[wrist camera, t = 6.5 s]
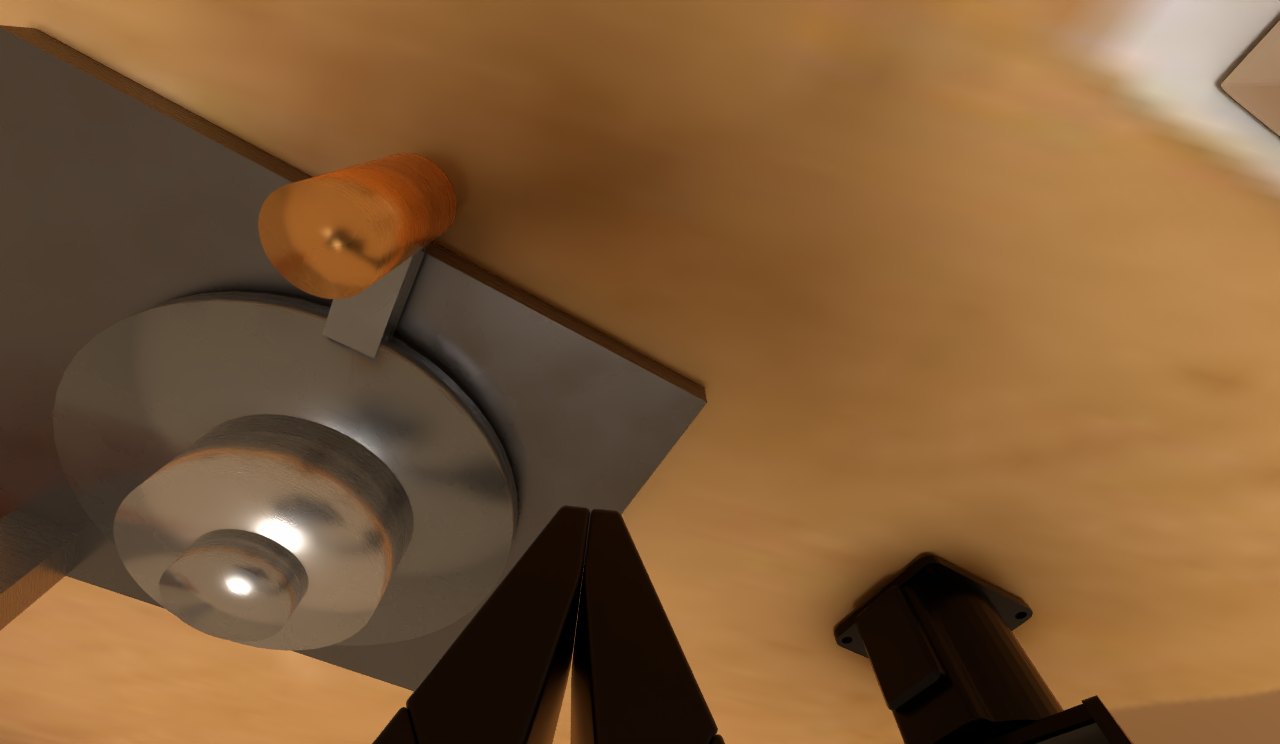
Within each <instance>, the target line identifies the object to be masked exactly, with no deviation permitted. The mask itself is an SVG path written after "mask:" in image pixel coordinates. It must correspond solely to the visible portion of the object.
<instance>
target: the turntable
mask: <svg viewBox="0 0 1280 744" xmlns="http://www.w3.org/2000/svg"><path fill="white" fill-rule="evenodd" d="M455 213H456V197H455V193H454V190H453V187H452V185H451V183H450V181H449V179H448V178H447V176H446V175H445V174H444V172H443V171H442V170H441V169H440V168H439V167H438V166H437V165H435V164H434V163H433V162H431V161H430V160H428V159H426V158H424V157H422V156H419V155H415V154H408V153H403V154H397V155H393V156H389V157H385V158H382V159H378V160H374V161H371V162H367V163H364V164H360V165H356V166H353V167H349V168H345V169H342V170H338V171H334V172H331V173H327V174H324V175H320V176H316V177H313V178H309V179H305V180H302V181H298V182H295V183H291V184H287V185H285V186H282V187H280V188H278V189H276V190H275V191H273V192H272V193H271V194H270V195H269V196H268V197H267V199H266V200H265V201H264V203H263V205H262V207H261V210H260V213H259V220H258V230H259V236H260V240H261V244H262V246H263V249H264V251H265V253H266V255H267V257H268V259H269V260H270V262H271V263H272V265H273V266H274V267H275V268H276V270H277V271H278V272H279V273H280V274H281V275H282V276H283V277H284V278H285V279H286V280H288V281H289V282H290V283H291V284H293V285H294V286H296V287H297V288H299V289H301V290H303V291H304V292H307V293H309V294H311V295H314V296H317V297H321V298H326V299H333V302H332V305H331V308H329V307H326V306H322V305H319V304H316V303H312V302H309V301H306V300H302V299H297V298H291V297H286V296H280V295H275V294H269V293H256V292H240V291H229V292H212V293H201V294H196V295H191V296H186V297H181V298H176V299H172V300H169V301H167V302H164V303H161V304H159V305H156V306H153V307H151V308H148V309H146V310H143V311H141V312H139V313H137V314H134V315H132V316H130V317H128V318H126V319H123V320H121V321H119V322H117V323H116V324H114V325H112V326H111V327H109V328H107V329H106V330H104V331H102V332H101V333H99V334H97V335H96V336H95V337H94V338H93V339H92V340H91V341H89V342H88V343H87V344H86V345H85V346H84V347H83V348H82V349H81V350H80V351H79V352H78V353H77V354H76V356H75V357H74V359H73V360H72V362H71V363H70V364H69V366H68V367H67V369H66V370H65V372H64V375H63V377H62V380H61V382H60V385H59V387H58V390H57V392H56V399H55V405H54V411H53V426H54V439H55V444H56V448H57V453H58V457H59V461H60V463H61V466H62V468H63V471H64V473H65V476H66V478H67V481H68V483H69V485H70V487H71V489H72V490H73V492H74V494H75V496H76V497H77V499H78V501H79V503H80V504H81V506H82V507H83V509H84V510H85V511H86V513H87V514H88V515H89V517H90V518H91V519H92V521H93V522H94V524H95V525H96V526H97V527H98V528H99V530H100V531H101V532H102V533H103V534H104V535H105V536H106V537H107V538H108V539H109V540H110V542H111V543H112V544H113V545H114V546H115V547H116V545H115V540H114V534H113V530H114V519H115V516H116V513H117V510H118V508H119V506H120V505H121V503H122V501H123V500H124V499H125V498H126V497H127V496H128V495H129V493H130V492H131V491H133V490H134V489H135V488H137V487H138V486H139V485H140V484H142V483H143V482H144V481H146V480H147V479H148V478H149V477H151V476H152V475H153V474H154V473H156V472H157V471H158V470H160V469H161V468H162V467H163V466H165V465H166V464H167V463H168V462H170V461H171V460H172V459H174V458H175V457H176V456H177V455H179V454H180V453H181V452H182V451H184V450H185V449H186V448H188V447H189V446H190V445H191V444H193V443H194V442H195V441H196V440H198V439H199V438H200V437H202V436H203V435H204V434H205V433H207V432H208V431H210V430H211V429H212V428H214V427H215V426H217V425H219V424H221V423H223V422H225V421H228V420H231V419H235V418H238V417H242V416H249V415H258V414H275V415H287V416H292V417H298V418H303V419H306V420H310V421H313V422H317V423H320V424H322V425H325V426H328V427H330V428H333V429H335V430H337V431H339V432H341V433H343V434H345V435H347V436H349V437H351V438H352V439H354V440H356V441H357V442H359V443H360V444H362V445H364V446H365V447H366V448H367V449H369V450H370V451H371V452H373V453H374V454H375V455H376V456H378V457H379V458H380V459H381V460H382V461H383V462H384V463H385V464H386V465H387V466H388V467H389V468H390V470H391V471H392V472H393V473H394V474H395V475H396V477H397V478H398V480H399V481H400V483H401V484H402V486H403V487H404V489H405V491H406V493H407V495H408V497H409V500H410V504H411V507H412V511H413V517H414V530H413V534H412V539H411V541H410V544H409V546H408V548H407V550H406V552H405V554H404V556H403V558H402V560H401V562H400V564H399V565H398V567H397V569H396V571H395V573H394V575H393V577H392V579H391V581H390V583H389V585H388V587H387V588H386V590H385V592H384V594H383V596H382V598H381V600H380V602H379V604H378V606H377V608H376V609H375V611H374V613H373V615H372V617H371V618H370V620H369V621H368V623H367V624H366V625H365V626H364V627H363V628H362V629H361V630H360V631H358V632H357V633H356V634H354V635H353V636H351V637H349V638H347V639H345V640H343V641H341V642H339V643H336V644H333V645H346V646H359V645H379V644H387V643H395V642H400V641H405V640H409V639H414V638H418V637H421V636H424V635H427V634H430V633H432V632H435V631H438V630H440V629H442V628H444V627H446V626H448V625H450V624H452V623H454V622H456V621H457V620H459V619H460V618H462V617H463V616H465V615H466V614H468V613H470V612H471V611H472V610H473V609H474V608H475V607H476V606H477V605H479V604H480V603H481V602H482V601H483V600H484V599H485V598H486V597H487V595H488V594H489V593H490V591H491V590H492V589H493V588H494V586H495V585H496V583H497V581H498V580H499V578H500V576H501V574H502V572H503V570H504V568H505V565H506V562H507V558H508V555H509V552H510V549H511V545H512V542H513V539H514V535H515V532H516V525H517V516H518V502H517V490H516V485H515V481H514V476H513V472H512V468H511V466H510V463H509V461H508V458H507V456H506V453H505V451H504V448H503V446H502V444H501V442H500V441H499V439H498V437H497V435H496V434H495V432H494V430H493V428H492V426H491V425H490V423H489V422H488V421H487V419H486V418H485V416H484V415H483V414H482V412H481V411H480V410H479V408H478V407H477V406H476V404H475V403H474V402H473V401H472V400H471V399H470V397H469V396H468V395H467V394H466V393H465V392H464V391H463V390H462V389H461V388H460V387H459V386H458V385H457V384H456V383H455V382H454V381H453V380H452V379H451V378H450V377H449V376H448V375H447V374H445V373H444V372H443V371H442V370H441V369H439V368H438V367H437V366H436V365H435V364H434V363H432V362H431V361H430V360H429V359H428V358H426V357H425V356H423V355H422V354H420V353H419V352H417V351H416V350H414V349H413V348H411V347H410V346H408V345H407V344H405V343H404V342H403V341H401V340H399V339H398V338H396V337H394V336H393V334H394V332H395V329H396V327H397V324H398V321H399V319H400V316H401V314H402V311H403V309H404V306H405V303H406V301H407V298H408V296H409V293H410V291H411V288H412V285H413V283H414V280H415V278H416V275H417V272H418V270H419V267H420V265H421V262H422V260H423V257H424V254H425V252H426V249H427V247H428V244H429V243H430V242H432V241H433V240H435V239H436V238H437V237H439V236H440V235H442V234H443V233H444V232H445V231H446V230H447V229H448V228H449V227H450V225H451V224H452V222H453V220H454V217H455Z"/></svg>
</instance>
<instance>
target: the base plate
mask: <svg viewBox="0 0 1280 744" xmlns="http://www.w3.org/2000/svg"><path fill="white" fill-rule="evenodd" d="M309 178H312V177H311V176H309V175H307V174H305V173H303V172H301V171H299V170H297V169H296V168H294V167H292V166H290V165H288V164H286V163H284V162H283V161H281V160H279V159H277V158H275V157H273V156H271V155H270V154H268V153H266V152H264V151H262V150H260V149H258V148H257V147H255V146H253V145H251V144H249V143H247V142H245V141H243V140H242V139H240V138H238V137H236V136H234V135H232V134H230V133H229V132H227V131H225V130H223V129H221V128H219V127H217V126H216V125H214V124H212V123H210V122H208V121H206V120H204V119H203V118H201V117H199V116H197V115H195V114H193V113H191V112H189V111H188V110H186V109H184V108H182V107H180V106H178V105H176V104H175V103H173V102H171V101H169V100H167V99H165V98H163V97H162V96H160V95H158V94H156V93H154V92H152V91H150V90H148V89H147V88H145V87H143V86H141V85H139V84H137V83H135V82H134V81H132V80H130V79H128V78H126V77H124V76H122V75H121V74H119V73H117V72H115V71H113V70H111V69H109V68H108V67H106V66H104V65H102V64H100V63H98V62H96V61H94V60H93V59H91V58H89V57H87V56H85V55H83V54H81V53H80V52H78V51H76V50H74V49H72V48H70V47H68V46H67V45H65V44H63V43H61V42H59V41H57V40H55V39H53V38H52V37H50V36H48V35H46V34H44V33H42V32H40V31H39V30H37V29H35V28H24V27H13V26H2V25H0V519H2V518H3V517H5V516H6V515H8V514H9V513H11V512H12V511H14V510H16V511H19V512H21V513H24V514H27V515H30V516H33V517H36V518H39V519H41V520H44V521H47V522H50V523H53V524H56V525H59V526H61V527H64V528H67V529H70V530H73V531H76V532H78V533H79V539H78V548H77V557H76V565H75V568H74V569H73V570H72V571H70V572H69V573H68V574H67V575H66V576H68V577H71V578H74V579H77V580H80V581H83V582H86V583H89V584H92V585H96V586H99V587H102V588H105V589H108V590H111V591H114V592H117V593H120V594H123V595H126V596H129V597H132V598H135V599H138V600H141V601H144V602H147V603H150V604H153V605H156V606H159V607H162V608H164V607H163V606H161V605H160V604H159V603H157V602H156V601H155V600H154V599H153V598H152V597H150V596H149V595H148V594H147V593H146V592H145V591H144V590H143V589H142V588H141V587H140V586H139V585H138V583H137V582H136V581H135V580H134V579H133V578H132V576H131V575H130V573H129V572H128V571H127V569H126V568H125V566H124V564H123V562H122V560H121V558H120V556H119V554H118V551H117V548H116V547H115V546H114V545H113V544H112V543H111V542H110V540H109V539H108V538H107V537H106V536H105V535H104V534H103V533H102V532H101V531H100V530H99V528H98V527H97V526H96V525H95V524H94V522H93V521H92V519H91V518H90V517H89V515H88V514H87V513H86V511H85V510H84V509H83V507H82V506H81V504H80V503H79V501H78V499H77V497H76V496H75V494H74V492H73V490H72V489H71V487H70V485H69V483H68V481H67V478H66V476H65V473H64V471H63V468H62V466H61V463H60V461H59V457H58V453H57V448H56V444H55V439H54V426H53V411H54V405H55V399H56V392H57V390H58V387H59V385H60V382H61V380H62V377H63V375H64V372H65V370H66V369H67V367H68V366H69V364H70V363H71V362H72V360H73V359H74V357H75V356H76V354H77V353H78V352H79V351H80V350H81V349H82V348H83V347H84V346H85V345H86V344H87V343H88V342H89V341H91V340H92V339H93V338H94V337H95V336H96V335H97V334H99V333H101V332H102V331H104V330H106V329H107V328H109V327H111V326H112V325H114V324H116V323H117V322H119V321H121V320H123V319H126V318H128V317H130V316H132V315H134V314H137V313H139V312H141V311H143V310H146V309H148V308H151V307H153V306H156V305H159V304H161V303H164V302H167V301H169V300H172V299H176V298H181V297H186V296H191V295H196V294H201V293H212V292H229V291H240V292H256V293H269V294H275V295H280V296H286V297H291V298H297V299H302V300H306V301H309V302H312V303H316V304H319V305H322V306H326V307H329V308H331V305H332V302H333V299H326V298H321V297H317V296H314V295H311V294H309V293H307V292H304V291H303V290H301V289H299V288H297V287H296V286H294V285H293V284H291V283H290V282H289V281H288V280H286V279H285V278H284V277H283V276H282V275H281V274H280V273H279V272H278V271H277V270H276V268H275V267H274V266H273V265H272V263H271V262H270V260H269V259H268V257H267V255H266V253H265V251H264V249H263V246H262V244H261V240H260V236H259V230H258V220H259V213H260V210H261V207H262V205H263V203H264V201H265V200H266V199H267V197H268V196H269V195H270V194H271V193H272V192H273V191H275V190H276V189H278V188H280V187H282V186H285V185H287V184H291V183H295V182H298V181H302V180H305V179H309ZM393 336H394V337H396V338H398V339H399V340H401V341H403V342H404V343H405V344H407V345H408V346H410V347H411V348H413V349H414V350H416V351H417V352H419V353H420V354H422V355H423V356H425V357H426V358H428V359H429V360H430V361H431V362H432V363H434V364H435V365H436V366H437V367H438V368H439V369H441V370H442V371H443V372H444V373H445V374H447V375H448V376H449V377H450V378H451V379H452V380H453V381H454V382H455V383H456V384H457V385H458V386H459V387H460V388H461V389H462V390H463V391H464V392H465V393H466V394H467V395H468V396H469V397H470V399H471V400H472V401H473V402H474V403H475V404H476V406H477V407H478V408H479V410H480V411H481V412H482V414H483V415H484V416H485V418H486V419H487V421H488V422H489V423H490V425H491V426H492V428H493V430H494V432H495V434H496V435H497V437H498V439H499V441H500V442H501V444H502V446H503V448H504V451H505V453H506V456H507V458H508V461H509V463H510V466H511V468H512V472H513V476H514V481H515V485H516V490H517V502H518V516H517V525H516V532H515V535H514V539H513V542H512V545H511V549H510V552H509V555H508V558H507V562H506V565H505V568H504V570H503V572H502V574H501V576H500V578H499V580H498V581H497V583H496V585H495V586H494V588H493V589H492V590H491V591H490V593H489V594H488V595H487V597H486V598H485V599H484V600H483V601H482V602H481V603H480V604H479V605H477V606H476V607H475V608H474V609H473V610H472V611H471V612H470V613H468V614H466V615H465V616H463V617H462V618H460V619H459V620H457V621H456V622H454V623H452V624H450V625H448V626H446V627H444V628H442V629H440V630H438V631H435V632H432V633H430V634H427V635H424V636H421V637H418V638H414V639H409V640H405V641H400V642H395V643H387V644H379V645H359V646H346V645H330V646H326V647H321V648H316V649H308V650H291V651H294V652H297V653H300V654H303V655H306V656H309V657H312V658H315V659H318V660H321V661H324V662H327V663H330V664H333V665H337V666H340V667H343V668H346V669H349V670H352V671H355V672H358V673H361V674H364V675H367V676H370V677H373V678H376V679H379V680H382V681H385V682H388V683H391V684H394V685H397V686H400V687H403V688H406V689H409V690H412V691H415V690H416V689H417V687H418V686H419V685H420V684H421V682H422V681H423V680H424V679H425V677H426V676H427V675H428V674H429V672H430V671H431V670H432V669H433V667H434V666H435V665H436V664H437V662H438V661H439V660H440V658H441V657H442V656H443V655H444V653H445V652H446V651H447V650H448V648H449V647H450V646H451V645H452V643H453V642H454V641H455V640H456V638H457V637H458V636H459V635H460V633H461V632H462V631H463V630H464V628H465V627H466V626H467V625H468V623H469V622H470V621H471V620H472V618H473V617H474V616H475V614H476V613H477V612H478V611H479V609H480V608H481V607H482V606H483V604H484V603H485V602H486V601H487V599H488V598H489V597H490V596H491V594H492V593H493V592H494V591H495V589H496V588H497V587H498V586H499V584H500V583H501V582H502V581H503V579H504V578H505V577H506V576H507V574H508V573H509V572H510V571H511V569H512V568H513V567H514V565H515V564H516V563H517V562H518V560H519V559H520V558H521V557H522V555H523V554H524V553H525V552H526V550H527V549H528V548H529V547H530V545H531V544H532V543H533V542H534V540H535V539H536V538H537V537H538V535H539V534H540V533H541V532H542V530H543V529H544V528H545V527H546V525H547V524H548V523H549V521H550V520H551V519H552V518H553V516H554V515H555V514H556V513H557V511H558V510H559V509H560V508H561V507H562V506H564V505H570V506H579V507H587V508H588V509H589V510H590V515H591V511H592V510H593V509H595V508H598V509H607V510H615V511H618V512H619V513H620V514H622V512H623V511H624V510H625V509H626V507H627V506H628V505H629V503H630V502H631V501H632V499H633V498H634V497H635V496H636V494H637V493H638V492H639V490H640V489H641V488H642V486H643V485H644V484H645V482H646V481H647V480H648V479H649V477H650V476H651V475H652V473H653V472H654V471H655V469H656V468H657V467H658V466H659V464H660V463H661V462H662V460H663V459H664V458H665V456H666V455H667V454H668V452H669V451H670V450H671V449H672V447H673V446H674V445H675V443H676V442H677V441H678V439H679V438H680V437H681V436H682V434H683V433H684V432H685V430H686V429H687V428H688V426H689V425H690V424H691V422H692V421H693V420H694V419H695V417H696V416H697V415H698V413H699V412H700V411H701V409H702V408H703V407H704V406H705V404H706V403H707V399H706V394H705V388H704V387H702V386H700V385H698V384H696V383H694V382H692V381H691V380H689V379H687V378H685V377H683V376H681V375H679V374H677V373H676V372H674V371H672V370H670V369H668V368H666V367H664V366H663V365H661V364H659V363H657V362H655V361H653V360H651V359H650V358H648V357H646V356H644V355H642V354H640V353H638V352H636V351H635V350H633V349H631V348H629V347H627V346H625V345H623V344H622V343H620V342H618V341H616V340H614V339H612V338H610V337H609V336H607V335H605V334H603V333H601V332H599V331H597V330H596V329H594V328H592V327H590V326H588V325H586V324H584V323H582V322H581V321H579V320H577V319H575V318H573V317H571V316H569V315H568V314H566V313H564V312H562V311H560V310H558V309H556V308H555V307H553V306H551V305H549V304H547V303H545V302H543V301H541V300H540V299H538V298H536V297H534V296H532V295H530V294H528V293H527V292H525V291H523V290H521V289H519V288H517V287H515V286H514V285H512V284H510V283H508V282H506V281H504V280H502V279H501V278H499V277H497V276H495V275H493V274H491V273H489V272H487V271H486V270H484V269H482V268H480V267H478V266H476V265H474V264H473V263H471V262H469V261H467V260H465V259H463V258H461V257H460V256H458V255H456V254H454V253H452V252H450V251H448V250H447V249H445V248H443V247H441V246H439V245H437V244H435V243H433V242H430V243H429V244H428V247H427V249H426V252H425V254H424V257H423V260H422V262H421V265H420V267H419V270H418V272H417V275H416V278H415V280H414V283H413V285H412V288H411V291H410V293H409V296H408V298H407V301H406V303H405V306H404V309H403V311H402V314H401V316H400V319H399V321H398V324H397V327H396V329H395V332H394V334H393ZM589 522H590V520H589ZM588 530H589V528H588ZM587 538H588V536H587ZM586 546H587V544H586ZM585 554H586V552H585ZM584 562H585V560H584Z"/></svg>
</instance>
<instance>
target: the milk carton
mask: <svg viewBox="0 0 1280 744" xmlns="http://www.w3.org/2000/svg"><path fill="white" fill-rule="evenodd" d="M1221 87H1222V88H1223V90H1224V91H1225V92H1226V93H1227V94H1229V95H1230V96H1231V97H1232V98H1233V99H1234V100H1236V101H1237V102H1238V103H1239V104H1240V105H1242V106H1243V107H1244V108H1245V109H1247V110H1248V111H1249V112H1250V113H1251V114H1253V115H1254V116H1255V117H1256V118H1258V119H1259V120H1260V121H1261V122H1263V123H1264V124H1265V125H1266V126H1268V127H1269V128H1270V129H1271V130H1273V131H1274V132H1275V133H1276V134H1277V135H1279V136H1280V21H1279V22H1278V23H1277V24H1276V25H1275V26H1274V27H1273V28H1272V29H1271V30H1270V31H1269V33H1268V34H1267V35H1266V36H1265V37H1264V38H1263V39H1262V40H1261V41H1260V42H1259V43H1258V44H1257V46H1256V47H1255V48H1254V49H1253V50H1252V51H1251V52H1250V53H1249V54H1248V55H1247V56H1246V57H1245V59H1244V60H1243V61H1242V62H1241V63H1240V64H1239V65H1238V66H1237V67H1236V68H1235V69H1234V71H1233V72H1232V73H1231V74H1230V75H1229V76H1228V77H1227V78H1226V79H1225V80H1224V82H1223V83H1222V86H1221Z"/></svg>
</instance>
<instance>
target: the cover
mask: <svg viewBox="0 0 1280 744" xmlns="http://www.w3.org/2000/svg"><path fill="white" fill-rule="evenodd" d="M413 530H414V517H413V511H412V507H411V504H410V500H409V497H408V495H407V493H406V491H405V489H404V487H403V486H402V484H401V483H400V481H399V480H398V478H397V477H396V475H395V474H394V473H393V472H392V471H391V470H390V468H389V467H388V466H387V465H386V464H385V463H384V462H383V461H382V460H381V459H380V458H379V457H378V456H376V455H375V454H374V453H373V452H371V451H370V450H369V449H367V448H366V447H365V446H364V445H362V444H360V443H359V442H357V441H356V440H354V439H352V438H351V437H349V436H347V435H345V434H343V433H341V432H339V431H337V430H335V429H333V428H330V427H328V426H325V425H322V424H320V423H317V422H313V421H310V420H306V419H303V418H298V417H292V416H287V415H275V414H258V415H249V416H242V417H238V418H235V419H231V420H228V421H225V422H223V423H221V424H219V425H217V426H215V427H214V428H212V429H211V430H210V431H208V432H207V433H205V434H204V435H203V436H202V437H200V438H199V439H198V440H196V441H195V442H194V443H193V444H191V445H190V446H189V447H188V448H186V449H185V450H184V451H182V452H181V453H180V454H179V455H177V456H176V457H175V458H174V459H172V460H171V461H170V462H168V463H167V464H166V465H165V466H163V467H162V468H161V469H160V470H158V471H157V472H156V473H154V474H153V475H152V476H151V477H149V478H148V479H147V480H146V481H144V482H143V483H142V484H140V485H139V486H138V487H137V488H135V489H134V490H133V491H131V492H130V493H129V495H128V496H127V497H126V498H125V499H124V500H123V501H122V503H121V505H120V506H119V508H118V510H117V513H116V516H115V519H114V530H113V534H114V540H115V545H116V548H117V551H118V554H119V556H120V558H121V560H122V562H123V564H124V566H125V568H126V569H127V571H128V572H129V573H130V575H131V576H132V578H133V579H134V580H135V581H136V582H137V583H138V585H139V586H140V587H141V588H142V589H143V590H144V591H145V592H146V593H147V594H148V595H149V596H150V597H152V598H153V599H154V600H155V601H156V602H157V603H159V604H160V605H161V606H163V607H164V608H165V609H167V610H168V611H170V612H171V613H173V614H174V615H176V616H177V617H178V618H180V619H181V620H182V621H184V622H185V623H187V624H188V625H190V626H191V627H193V628H195V629H197V630H199V631H201V632H204V633H206V634H209V635H211V636H214V637H218V638H221V639H226V640H230V641H234V642H237V643H241V644H245V645H249V646H254V647H259V648H266V649H274V650H308V649H316V648H321V647H326V646H330V645H333V644H336V643H339V642H341V641H343V640H345V639H347V638H349V637H351V636H353V635H354V634H356V633H357V632H358V631H360V630H361V629H362V628H363V627H364V626H365V625H366V624H367V623H368V621H369V620H370V618H371V617H372V615H373V613H374V611H375V609H376V608H377V606H378V604H379V602H380V600H381V598H382V596H383V594H384V592H385V590H386V588H387V587H388V585H389V583H390V581H391V579H392V577H393V575H394V573H395V571H396V569H397V567H398V565H399V564H400V562H401V560H402V558H403V556H404V554H405V552H406V550H407V548H408V546H409V544H410V541H411V539H412V534H413Z"/></svg>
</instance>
